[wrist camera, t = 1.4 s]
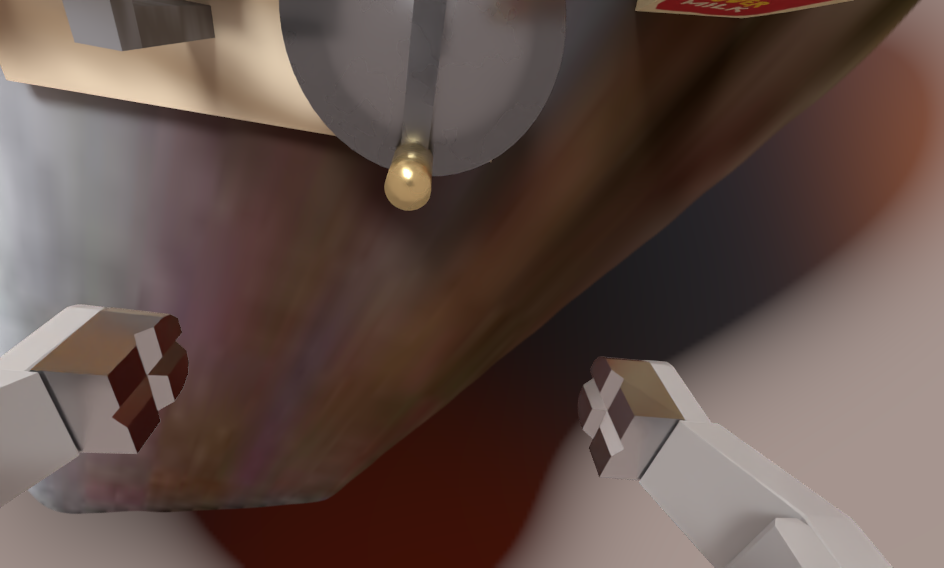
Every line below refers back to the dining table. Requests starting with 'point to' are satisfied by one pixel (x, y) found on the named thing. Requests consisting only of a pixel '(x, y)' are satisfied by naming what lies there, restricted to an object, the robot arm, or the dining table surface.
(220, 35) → the base board
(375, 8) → the handwheel
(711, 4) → the milk carton
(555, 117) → the dining table surface
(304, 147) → the dining table surface
